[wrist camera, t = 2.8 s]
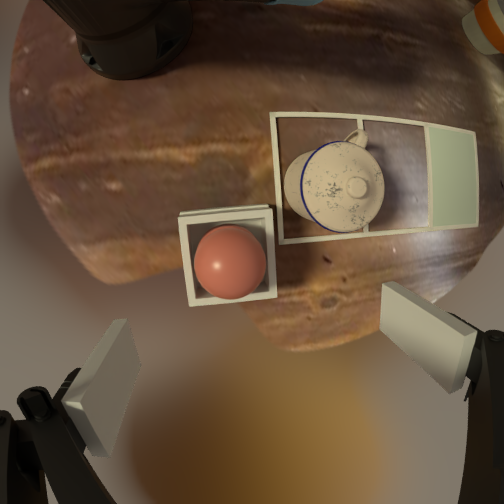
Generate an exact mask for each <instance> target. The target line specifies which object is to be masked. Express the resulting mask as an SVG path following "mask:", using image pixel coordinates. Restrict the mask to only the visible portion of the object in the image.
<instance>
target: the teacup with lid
mask: <svg viewBox="0 0 504 504" xmlns="http://www.w3.org/2000/svg"><path fill="white" fill-rule="evenodd" d="M367 142H368V134H367V132H365V131H364V130H362V129H357V130H355V131H353V132H352V133H351V134H350V135H349V136H348V137H347V138H346V139H345V140H344V141H335V142H330V143H327V144H325V145H323V146H321V147H319V148H318V149H316V150H313V151H310V152H307V153H305V154H302V155H301V156H299V157H298V158H296V159H295V160H294V161H293V162H292V163H291V165H290V166H289V168H288V170H287V172H286V175H285V180H284V191H285V195H286V198H287V201H288V203H289V204H290V206H291V207H292V209H293V210H294V211H295V212H296V213H298V214H299V215H300V216H302V217H304V218H306V219H309V220H311V221H314V222H316V223H317V224H319V225H320V226H322V227H323V228H325V229H327V230H330V231H333V232H338V233H348V232H353V231H356V230H358V229H361V228H362V227H364V226H366V225H367V224H368V223H370V222H371V221H372V220H373V219H374V217H375V216H376V215H377V213H378V211H379V210H380V207H381V205H382V202H383V198H384V190H385V188H384V178H383V174H382V171H381V169H380V167H379V165H378V163H377V161H376V160H375V158H374V157H373V156H372V155H371V154H370V153H369V152H368V151H367V150H365V147H366V145H367Z"/></svg>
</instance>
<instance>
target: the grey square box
mask: <svg viewBox="0 0 504 504" xmlns="http://www.w3.org/2000/svg"><path fill="white" fill-rule="evenodd" d="M228 223H231V224H237V225H240V226H243V227H244V228H246V229H248V230H249V231H250V232H251V233H252V234H253V235H254V236H255V238H256V239H257V240H258V242H259V243H260V245H261V246H262V248H263V251H264V253H265V257H266V269H265V274H264V277H263V279H262V281H261V283H260V284H259V286H258V287H257V288H256V289H255V290H254V291H253V292H252V293H250V294H249V295H247V296H245V297H242V298H239V299H234V300H227V299H221V298H218V297H216V296H214V295H212V294H210V293H209V292H207V291H206V290H205V289H204V288H203V287H202V285H201V284H200V282H199V281H198V279H197V276H196V273H195V269H194V259H195V254H196V250H197V247H198V244H199V242H200V240H201V238H202V237H203V235H204V234H205V233H206V232H207V231H208V230H210V229H211V228H213V227H215V226H217V225H221V224H228ZM178 224H179V233H180V242H181V250H182V258H183V266H184V273H185V280H186V288H187V294H188V300H189V306H201V305H212V304H221V303H232V302H242V301H251V300H260V299H268V298H277V281H276V262H275V244H274V228H273V212H272V209H271V208H269V207H268V204H254V205H241V206H230V207H219V208H208V209H198V210H188V211H181V212H180V216H179V217H178Z"/></svg>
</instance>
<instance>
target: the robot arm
mask: <svg viewBox="0 0 504 504" xmlns="http://www.w3.org/2000/svg"><path fill="white" fill-rule="evenodd" d="M43 1H44V2H45V3H46V4H47V5H48V6H49V7H50V8H51V9H52V10H54V11H55V12H56V13H57V14H58V15H59V16H60V17H61V18H62V19H63V20H64V21H65V22H66V23H67V24H68V25H69V26H70V27H71V28H72V29H73V30H74V31H75V32H76V38H77V43H78V48H79V52H80V55H81V57H82V59H83V60H84V62H85V63H86V64H87V65H88V66H89V67H90V68H91V69H92V70H93V71H94V72H96V73H97V74H99V75H101V76H103V77H105V78H109V79H115V80H128V79H135V78H139V77H143V76H145V75H148V74H151V73H153V72H155V71H157V70H159V69H160V68H162V67H164V66H165V65H167V64H168V63H169V62H171V61H172V60H173V59H174V58H175V57H176V56H177V55H178V54H179V53H180V52H181V51H182V49H183V48H184V47H185V45H186V43H187V42H188V40H189V37H190V35H191V32H192V26H193V18H192V11H191V7H190V4H189V2H188V1H197V0H43ZM225 1H247V2H260V3H264V4H266V5H275V4H290V5H300V6H310V5H315V4H317V3H319V2H321V1H323V0H225ZM380 330H381V331H382V332H383V333H384V334H385V335H386V336H388V337H389V338H390V339H391V340H392V341H393V342H394V343H395V344H396V345H397V346H398V347H400V348H401V349H402V350H403V351H404V352H405V353H406V354H407V355H408V356H409V357H410V358H411V359H413V360H414V361H415V362H416V363H417V364H418V365H419V366H420V367H421V368H422V369H423V370H424V371H425V372H427V374H429V375H430V376H431V377H432V378H433V379H434V380H435V381H436V382H437V383H438V384H439V385H440V386H441V387H442V388H443V389H444V390H445V391H447V392H448V393H449V394H451V393H453V392H455V391H457V390H459V389H461V388H462V386H463V383H464V380H465V377H466V376H467V377H468V378H469V379H470V380H471V381H470V384H469V387H468V390H467V393H466V396H465V399H464V401H466V400H467V398H468V397H469V403H468V405H469V406H468V430H467V445H466V454H465V464H464V471H463V477H462V484H461V490H460V495H459V500H458V504H504V332H502V331H499V330H489V331H486V332H485V333H484V332H483V331H481V330H479V329H478V328H476V327H474V326H473V325H471V324H469V323H467V322H466V321H465V320H463V319H461V318H460V317H458V316H456V315H455V314H452V313H449V312H446V311H444V310H442V309H441V308H439V307H437V306H435V305H434V304H432V303H431V302H429V301H427V300H426V299H424V298H422V297H421V296H419V295H417V294H415V293H414V292H412V291H410V290H409V289H407V288H405V287H403V286H402V285H400V284H398V283H396V282H395V281H392V282H386V283H382V299H381V316H380ZM140 367H141V363H140V360H139V356H138V353H137V350H136V346H135V343H134V339H133V336H132V332H131V328H130V325H129V321H128V319H116V320H114V321H113V322H112V323H111V325H110V326H109V328H108V329H107V331H106V332H105V334H104V335H103V337H102V338H101V340H100V341H99V342H98V344H97V346H96V347H95V349H94V350H93V351H92V353H91V355H90V356H89V358H88V359H87V361H86V362H85V364H84V365H83V367H82V368H76V369H75V370H73V371H72V372H71V373H70V374H69V375H68V376H67V378H66V379H65V381H64V383H63V384H62V385H61V387H60V388H59V390H58V391H57V393H56V394H55V396H54V397H53V399H52V398H51V396H50V394H49V392H48V390H47V389H46V388H44V387H41V386H39V387H38V386H36V387H31V388H28V389H26V390H24V391H23V392H22V393H21V394H20V395H19V396H18V398H17V404H18V405H19V407H20V409H21V411H22V413H23V415H24V416H25V418H26V420H16V421H14V419H13V417H12V416H11V414H10V413H9V412H8V411H5V410H0V504H48V498H47V490H46V482H45V474H46V477H47V479H48V481H49V484H50V486H51V488H52V491H53V493H54V495H55V497H56V499H57V501H58V503H59V504H117V503H116V502H115V501H114V499H113V498H112V496H111V495H110V494H109V492H108V491H107V489H106V488H105V486H104V485H103V484H102V482H101V480H100V479H99V477H98V476H97V474H96V473H95V471H94V470H93V468H92V466H91V465H90V463H89V462H88V460H87V458H86V457H85V456H84V454H83V453H84V450H85V447H86V446H87V448H88V450H89V451H90V452H91V454H92V456H98V457H108V458H110V457H111V454H112V451H113V447H114V444H115V441H116V438H117V434H118V431H119V428H120V425H121V422H122V419H123V416H124V413H125V410H126V407H127V404H128V401H129V398H130V395H131V392H132V389H133V387H134V384H135V381H136V378H137V375H138V373H139V370H140Z"/></svg>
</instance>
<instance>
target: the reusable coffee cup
mask: <svg viewBox="0 0 504 504" xmlns="http://www.w3.org/2000/svg"><path fill="white" fill-rule="evenodd" d="M462 26H463V29H464V32H465V34H466V36H467V38H468V39H469V41H470V42H471V43H472V45H473V46H474V47H475V48H476V49H477V50H478V51H479V52H481V53H482V54H484V55H490V54H497V53H502V54H504V0H481V1H480V2H479V3H477V4H476V5H475V7H474V9H473V10H472V11H471V12H469V13H468V14H467V15H466V16H464V17H463V19H462Z"/></svg>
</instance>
